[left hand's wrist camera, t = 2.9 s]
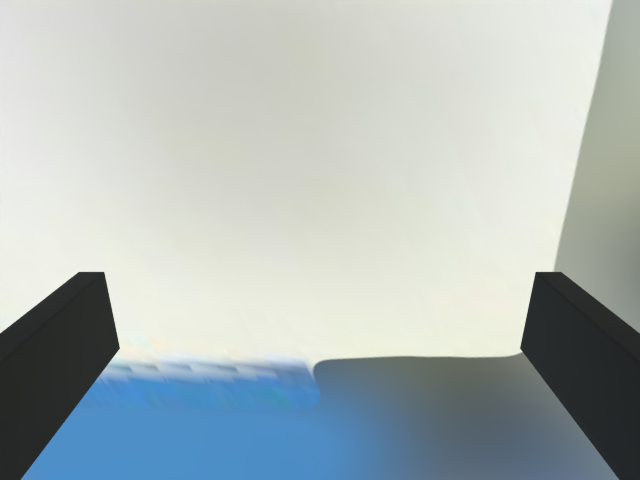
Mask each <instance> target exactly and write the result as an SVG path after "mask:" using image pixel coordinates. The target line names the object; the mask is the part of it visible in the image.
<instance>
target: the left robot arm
mask: <svg viewBox="0 0 640 480" xmlns="http://www.w3.org/2000/svg"><path fill="white" fill-rule="evenodd" d="M119 349H120V347H119V342H118V337H117V332H116V327H115V323H114V318H113V313H112V308H111V303H110V298H109V293H108V288H107V283H106V279H105V274H104V272H78V273H77V274H76V275H75V276H73V277H72V278H71V279H69V280H68V281H67V282H66V283H64V284H63V285H62V286H60V287H59V288H58V289H57V290H55V291H54V292H53V293H52V294H50V295H49V296H48V297H46V298H45V299H44V300H43V301H41V302H40V303H39V304H37V305H36V306H35V307H34V308H32V309H31V310H30V311H29V312H27V313H26V314H25V315H23V316H22V317H21V318H20V319H18V320H17V321H16V322H14V323H13V324H12V325H11V326H9V327H8V328H7V329H6V330H4V331H3V332H2V333H0V480H21V478H22V477H23V476H24V474H25V473H26V472H27V470H28V469H29V468H30V466H31V465H32V464H33V462H34V461H35V460H36V459H37V457H38V456H39V455H40V453H41V452H42V451H43V449H44V448H45V447H46V445H47V444H48V443H49V441H50V440H51V439H52V437H53V436H54V435H55V433H56V432H57V431H58V429H59V428H60V427H61V425H62V424H63V423H64V421H65V420H66V419H67V418H68V416H69V415H70V414H71V412H72V411H73V410H74V408H75V407H76V406H77V404H78V403H79V402H80V400H81V399H82V398H83V396H84V395H85V394H86V392H87V391H88V390H89V388H90V387H91V386H92V384H93V383H94V382H95V380H96V379H97V378H98V376H99V375H100V374H101V373H102V371H103V370H104V369H105V367H106V366H107V365H108V363H109V362H110V361H111V359H112V358H113V357H114V355H115V354H116V353H117V351H118V350H119ZM520 349H521V350H522V351H523V353H524V354H525V355H526V357H527V358H528V359H529V361H530V362H531V363H532V365H533V366H534V367H535V369H536V370H537V371H538V373H539V374H540V375H541V376H542V378H543V379H544V380H545V382H546V383H547V384H548V386H549V387H550V388H551V390H552V391H553V392H554V394H555V395H556V396H557V398H558V399H559V400H560V402H561V403H562V404H563V406H564V407H565V408H566V410H567V411H568V412H569V414H570V415H571V416H572V417H573V419H574V420H575V421H576V423H577V424H578V425H579V427H580V428H581V429H582V431H583V432H584V433H585V435H586V436H587V437H588V439H589V440H590V441H591V443H592V444H593V445H594V447H595V448H596V449H597V451H598V452H599V453H600V455H601V456H602V457H603V459H604V460H605V461H606V462H607V464H608V465H609V466H610V468H611V469H612V470H613V472H614V473H615V474H616V476H617V477H618V478H619V480H640V333H638V332H637V331H636V330H634V329H633V328H632V327H631V326H629V325H628V324H627V323H625V322H624V321H623V320H622V319H620V318H619V317H618V316H617V315H615V314H614V313H613V312H611V311H610V310H609V309H608V308H606V307H605V306H604V305H603V304H601V303H600V302H599V301H597V300H596V299H595V298H594V297H592V296H591V295H590V294H588V293H587V292H586V291H585V290H583V289H582V288H581V287H580V286H578V285H577V284H576V283H574V282H573V281H572V280H571V279H569V278H568V277H567V276H565V275H564V274H563V273H562V272H536V274H535V279H534V283H533V288H532V293H531V298H530V303H529V308H528V313H527V318H526V323H525V327H524V332H523V337H522V342H521V347H520Z"/></svg>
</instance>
